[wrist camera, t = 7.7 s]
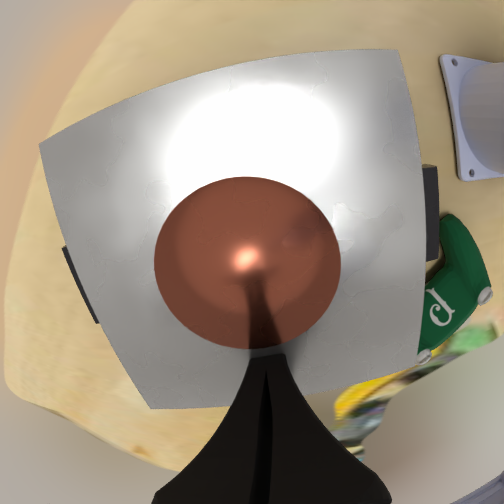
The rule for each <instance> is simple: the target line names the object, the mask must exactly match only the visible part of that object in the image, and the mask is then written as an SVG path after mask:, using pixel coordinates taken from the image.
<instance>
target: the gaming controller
mask: <svg viewBox="0 0 504 504" xmlns="http://www.w3.org/2000/svg"><path fill="white" fill-rule="evenodd" d="M439 237H440V240H441V244H442V247H443V250H444V254H445V258H446V262H445V265H444V267H443V268H442V269H441V270H439V271H438V272H437V273H436V274H435V276H434V277H433V278H432V279H431V280H430V281H429V282H428V283H427V284H426V285H425V289H424V303H423V313H422V322H421V331H420V338H419V345H418V352H417V358H416V363H415V364H416V365H423V364H425V363H427V362H428V361H429V359H430V358H431V356H432V353H431V350H434V349H435V348H437V347H438V346H440V345H441V344H442V343H443V342H444V341H445V340H447V339H448V338H449V337H450V336H451V335H452V334H453V333H454V332H455V331H456V330H457V329H458V328H459V327H460V326H461V325H462V324H463V323H464V322H465V321H466V320H467V318H468V317H469V316H470V315H471V314H472V313H473V312H474V310H475V309H476V307H477V305H478V304H479V305H480V306H481V305H483V304H485V303H487V302H488V301H489V300H490V299H491V297H492V294H493V292H492V290H491V288H490V287H491V283H490V280H489V277H488V274H487V270H486V267H485V264H484V262H483V259H482V256H481V253H480V251H479V249H478V247H477V245H476V243H475V241H474V240H473V238H472V236H471V234H470V232H469V231H468V229H467V228H466V227H465V226H464V225H463V223H462V222H461V221H460V220H459V219H458V218H457V217H455V216H454V215H452V214H448V215H447V216H445V217H444V218H443V219H442V220H441V221H440V222H439Z"/></svg>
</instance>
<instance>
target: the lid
mask: <svg viewBox="0 0 504 504" xmlns="http://www.w3.org/2000/svg"><path fill="white" fill-rule="evenodd" d="M39 148H40V153H41V158H42V163H43V167H44V172H45V176H46V180H47V184H48V188H49V192H50V195H51V199H52V202H53V206H54V209H55V213H56V216H57V219H58V222H59V225H60V228H61V231H62V234H63V237H64V240H65V243H66V246H67V249H68V251H69V254H70V257H71V259H72V262H73V264H74V267H75V269H76V272H77V274H78V277H79V279H80V282H81V284H82V286H83V288H84V291H85V293H86V295H87V297H88V300H89V302H90V304H91V306H92V308H93V310H94V312H95V315H96V317H97V319H98V321H99V323H100V325H101V327H102V329H103V331H104V332H105V334H106V336H107V338H108V340H109V342H110V344H111V346H112V347H113V349H114V351H115V353H116V355H117V356H118V358H119V360H120V362H121V363H122V365H123V367H124V368H125V370H126V372H127V373H128V375H129V377H130V378H131V380H132V381H133V383H134V385H135V386H136V388H137V389H138V391H139V392H140V394H141V395H142V397H143V398H144V400H145V401H146V403H147V404H148V406H149V407H150V409H187V408H208V407H222V406H231V405H232V403H233V401H234V399H235V396H236V394H237V392H238V390H239V388H240V385H241V383H242V380H243V378H244V375H245V372H246V370H247V366H248V363H249V360H250V359H251V358H255V357H262V356H268V355H274V354H279V353H283V354H285V355H286V359H287V364H288V367H289V369H290V372H291V374H292V376H293V379H294V381H295V383H296V384H297V386H298V388H299V390H300V392H301V393H302V395H303V396H304V395H309V394H315V393H320V392H324V391H329V390H333V389H338V388H342V387H346V386H350V385H354V384H358V383H362V382H365V381H369V380H373V379H376V378H380V377H383V376H386V375H390V374H393V373H396V372H399V371H402V370H405V369H408V368H411V367H414V366H415V363H416V358H417V352H418V345H419V338H420V331H421V322H422V313H423V303H424V289H425V270H426V216H425V197H424V184H423V174H422V164H421V156H420V149H419V142H418V135H417V129H416V124H415V118H414V113H413V108H412V103H411V99H410V94H409V90H408V86H407V82H406V78H405V74H404V70H403V67H402V63H401V60H400V56H399V53H398V50H383V49H359V50H335V51H321V52H310V53H301V54H293V55H285V56H279V57H272V58H266V59H261V60H255V61H250V62H245V63H240V64H236V65H231V66H227V67H223V68H219V69H215V70H211V71H207V72H204V73H200V74H197V75H193V76H190V77H187V78H183V79H180V80H177V81H174V82H171V83H168V84H165V85H162V86H159V87H156V88H154V89H151V90H148V91H146V92H143V93H140V94H138V95H135V96H133V97H130V98H128V99H126V100H123V101H121V102H119V103H116V104H114V105H112V106H109V107H107V108H105V109H103V110H101V111H99V112H97V113H94V114H92V115H90V116H88V117H86V118H84V119H82V120H80V121H79V122H77V123H75V124H73V125H71V126H69V127H67V128H65V129H64V130H62V131H60V132H58V133H57V134H55V135H53V136H51V137H50V138H48V139H46V140H45V141H43V142H41V143H40V144H39Z"/></svg>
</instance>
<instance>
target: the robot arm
mask: <svg viewBox="0 0 504 504" xmlns="http://www.w3.org/2000/svg"><path fill="white" fill-rule="evenodd" d="M452 61H453V62H454V65H453V64H452ZM440 64H441V68H442V72H443V76H444V80H445V84H446V89H447V94H448V99H449V104H450V109H451V115H452V122H453V129H454V136H455V145H456V154H457V167H458V176H459V178H460V179H461V180H462V181H466V182H468V181H475V180H482V179H490V178H498V177H504V62H498V63H491V62H486V61H482V60H477V59H472V58H467V57H461V56H455V55H449V54H444V55H441V56H440ZM470 170H471V174H470V175H469V171H470ZM391 502H392V498H391V495H390V493H389V491H388V490H387V488H386V486H385V485H384V483H383V482H382V481H381V479H380V478H379V477H378V475H377V474H376V473H375V472H373V471H372V470H370V469H369V468H368V467H367V466H365V465H364V464H363V463H362V462H360V461H359V460H358V459H357V458H356V457H355V456H353V455H352V454H351V453H350V452H349V451H348V450H347V449H346V448H345V447H344V446H343V445H342V444H341V443H340V442H339V441H338V440H337V439H336V438H335V437H334V436H333V435H332V434H331V433H330V432H329V431H328V429H327V428H326V427H325V426H324V425H323V423H322V422H321V421H320V420H319V418H318V417H317V416H316V415H315V413H314V412H313V410H312V409H311V407H310V406H309V405H308V403H307V401H306V400H305V398H304V397H303V395H302V393H301V392H300V390H299V388H298V386H297V384H296V383H295V381H294V379H293V376H292V374H291V372H290V369H289V367H288V364H287V359H286V355H285V354H283V353H279V354H274V355H268V356H262V357H255V358H251V359H250V360H249V363H248V366H247V370H246V372H245V375H244V378H243V380H242V383H241V385H240V388H239V390H238V392H237V394H236V396H235V399H234V401H233V403H232V405H231V406H230V408H229V410H228V412H227V414H226V416H225V417H224V419H223V421H222V422H221V424H220V426H219V427H218V429H217V430H216V432H215V433H214V434H213V436H212V437H211V439H210V440H209V441H208V442H207V444H206V445H205V446H204V448H203V449H202V450H201V451H200V452H199V454H198V455H197V456H196V457H195V458H194V459H193V460H192V461H191V462H190V463H189V464H188V465H187V466H186V467H185V468H184V469H183V470H182V471H181V472H180V473H179V474H178V475H177V476H176V477H175V478H173V479H172V480H171V481H170V482H168V483H167V484H166V485H165V486H163V487H162V488H161V489H160V490H158V491H157V492H156V493H155V496H154V498H153V501H152V503H151V504H391ZM451 504H504V471H503V472H502V473H501V474H500V475H499V476H497V477H496V478H495V479H493V480H491V481H490V482H488V483H487V484H485V485H483V486H482V487H480V488H478V489H477V490H475V491H473V492H472V493H470V494H468V495H466V496H464V497H463V498H461V499H459V500H457V501H455V502H453V503H451Z"/></svg>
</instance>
